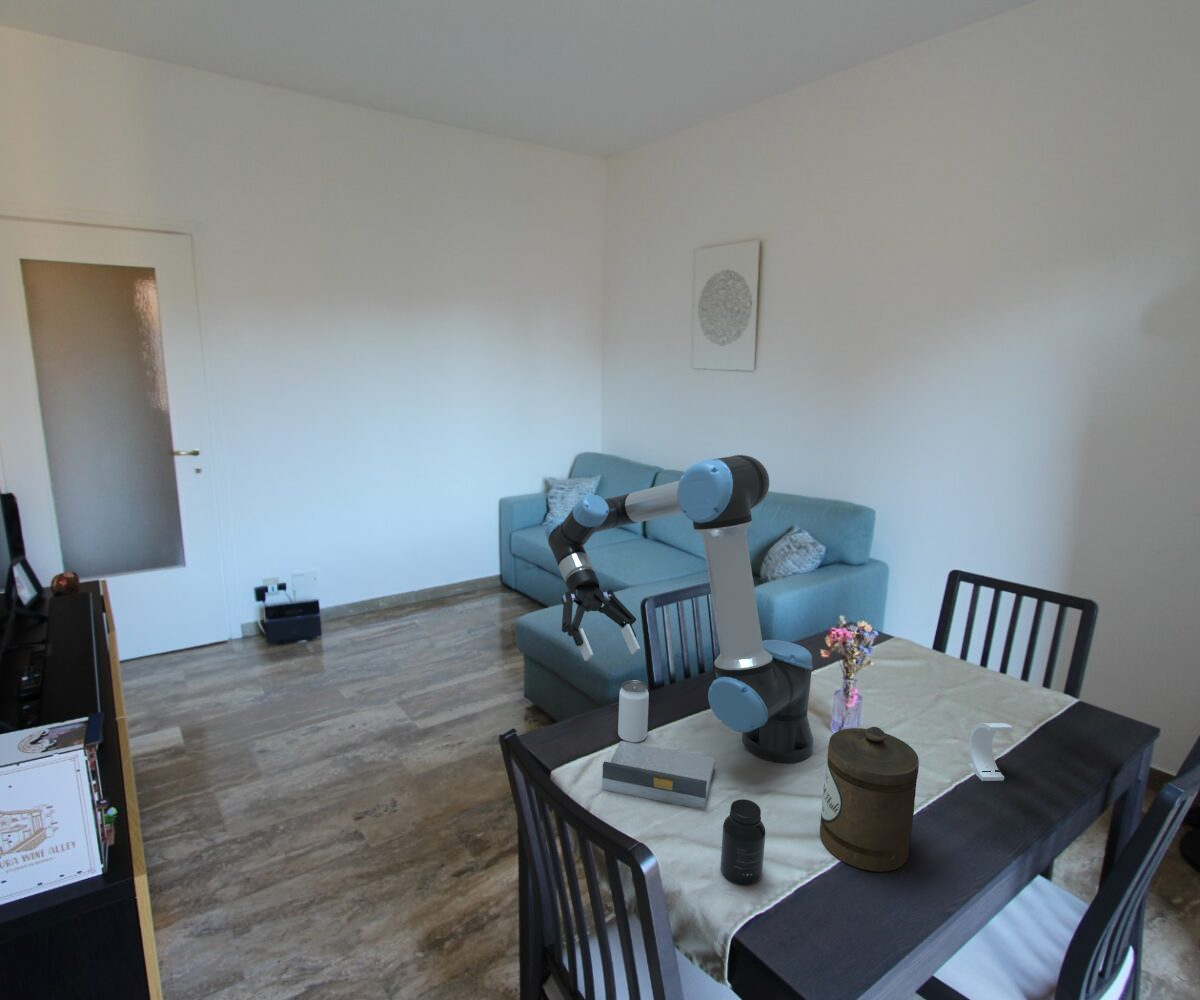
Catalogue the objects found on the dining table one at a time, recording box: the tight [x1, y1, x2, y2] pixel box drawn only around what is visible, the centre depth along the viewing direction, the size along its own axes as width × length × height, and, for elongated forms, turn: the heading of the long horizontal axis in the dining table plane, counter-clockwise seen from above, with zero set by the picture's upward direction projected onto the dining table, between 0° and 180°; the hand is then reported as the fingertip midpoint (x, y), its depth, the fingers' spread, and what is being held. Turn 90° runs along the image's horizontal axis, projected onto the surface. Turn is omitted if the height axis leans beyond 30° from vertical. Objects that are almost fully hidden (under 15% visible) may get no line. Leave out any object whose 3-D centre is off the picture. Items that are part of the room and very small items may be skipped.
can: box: [617, 679, 650, 744], centre depth 155 cm, size 6×6×12 cm
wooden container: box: [819, 726, 920, 873], centre depth 122 cm, size 15×15×22 cm
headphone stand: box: [967, 722, 1013, 782], centre depth 145 cm, size 5×6×12 cm
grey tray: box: [601, 740, 716, 811], centre depth 140 cm, size 20×14×6 cm
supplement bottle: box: [720, 798, 766, 886], centre depth 115 cm, size 7×7×12 cm
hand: (613, 654), depth 157 cm, fingers open, 13 cm apart
